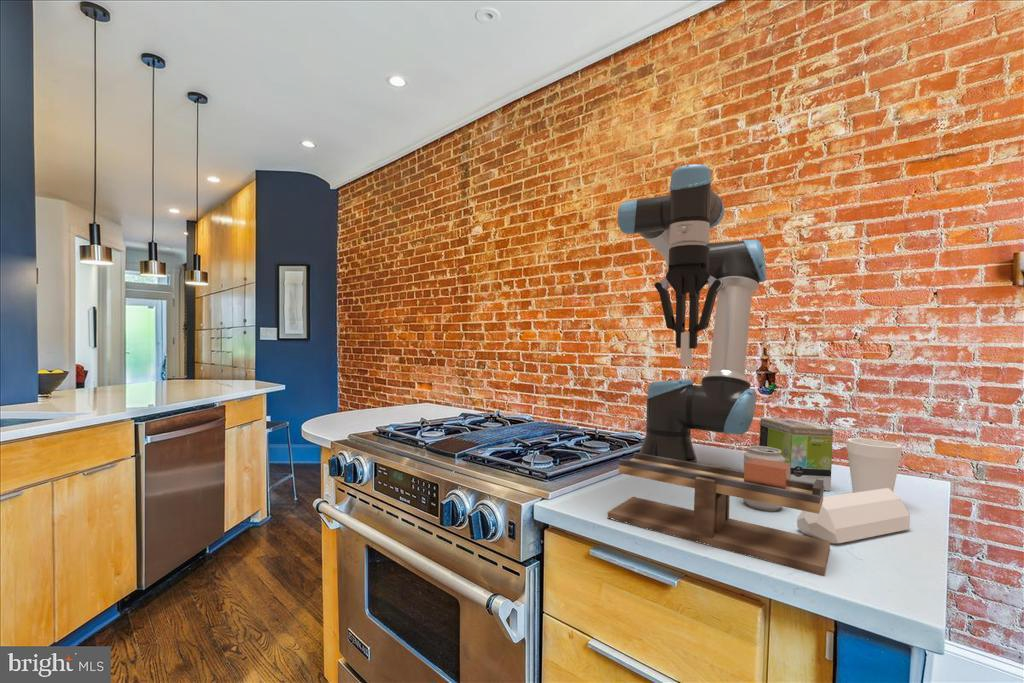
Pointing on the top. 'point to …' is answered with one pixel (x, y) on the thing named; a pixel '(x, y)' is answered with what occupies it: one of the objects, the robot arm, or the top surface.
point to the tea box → (801, 447)
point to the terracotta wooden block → (767, 473)
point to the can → (766, 454)
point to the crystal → (856, 516)
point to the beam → (724, 481)
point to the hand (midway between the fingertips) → (686, 364)
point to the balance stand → (725, 529)
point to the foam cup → (873, 464)
